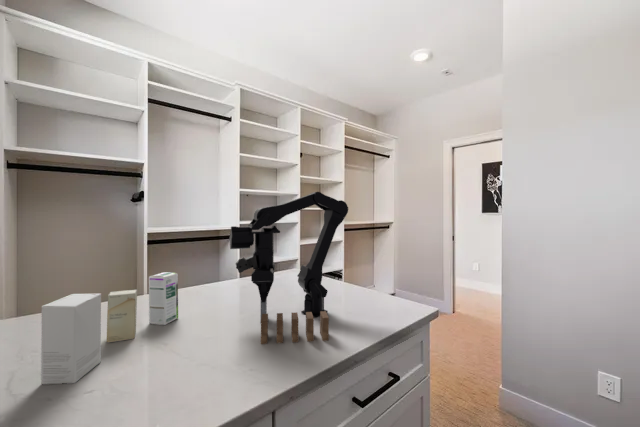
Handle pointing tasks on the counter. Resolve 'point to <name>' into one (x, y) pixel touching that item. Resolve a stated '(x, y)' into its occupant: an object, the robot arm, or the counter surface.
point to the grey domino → (263, 308)
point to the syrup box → (163, 298)
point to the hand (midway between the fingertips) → (264, 297)
